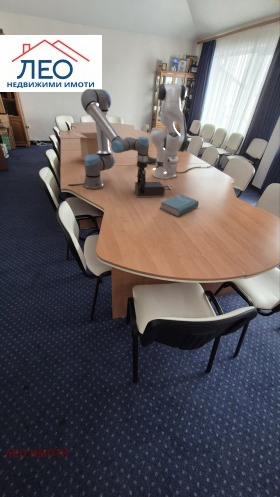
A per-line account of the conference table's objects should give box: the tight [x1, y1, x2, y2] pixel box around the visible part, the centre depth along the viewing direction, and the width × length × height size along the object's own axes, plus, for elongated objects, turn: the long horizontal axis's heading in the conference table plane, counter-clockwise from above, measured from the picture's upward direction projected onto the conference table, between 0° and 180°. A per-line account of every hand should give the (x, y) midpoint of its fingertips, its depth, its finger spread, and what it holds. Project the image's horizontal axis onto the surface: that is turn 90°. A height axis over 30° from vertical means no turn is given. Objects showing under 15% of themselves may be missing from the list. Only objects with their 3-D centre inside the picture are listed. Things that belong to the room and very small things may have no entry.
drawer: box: [161, 182, 172, 196], centre depth 173 cm, size 24×10×6 cm, turn 102°
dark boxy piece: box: [134, 181, 165, 198], centre depth 172 cm, size 20×11×8 cm, turn 102°
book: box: [159, 193, 200, 217], centre depth 155 cm, size 23×16×5 cm
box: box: [70, 129, 98, 161], centre depth 229 cm, size 44×36×27 cm
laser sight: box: [147, 154, 157, 165], centre depth 240 cm, size 10×22×10 cm, turn 78°
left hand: (140, 190), depth 171 cm, fingers closed on dark boxy piece, 11 cm apart
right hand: (167, 176), depth 169 cm, fingers closed
